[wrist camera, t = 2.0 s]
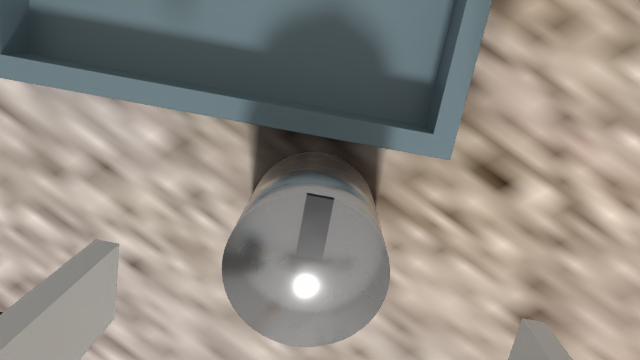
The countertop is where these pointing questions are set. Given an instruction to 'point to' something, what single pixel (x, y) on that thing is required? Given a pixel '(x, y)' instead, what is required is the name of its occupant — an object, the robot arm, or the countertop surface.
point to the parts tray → (263, 61)
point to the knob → (308, 253)
